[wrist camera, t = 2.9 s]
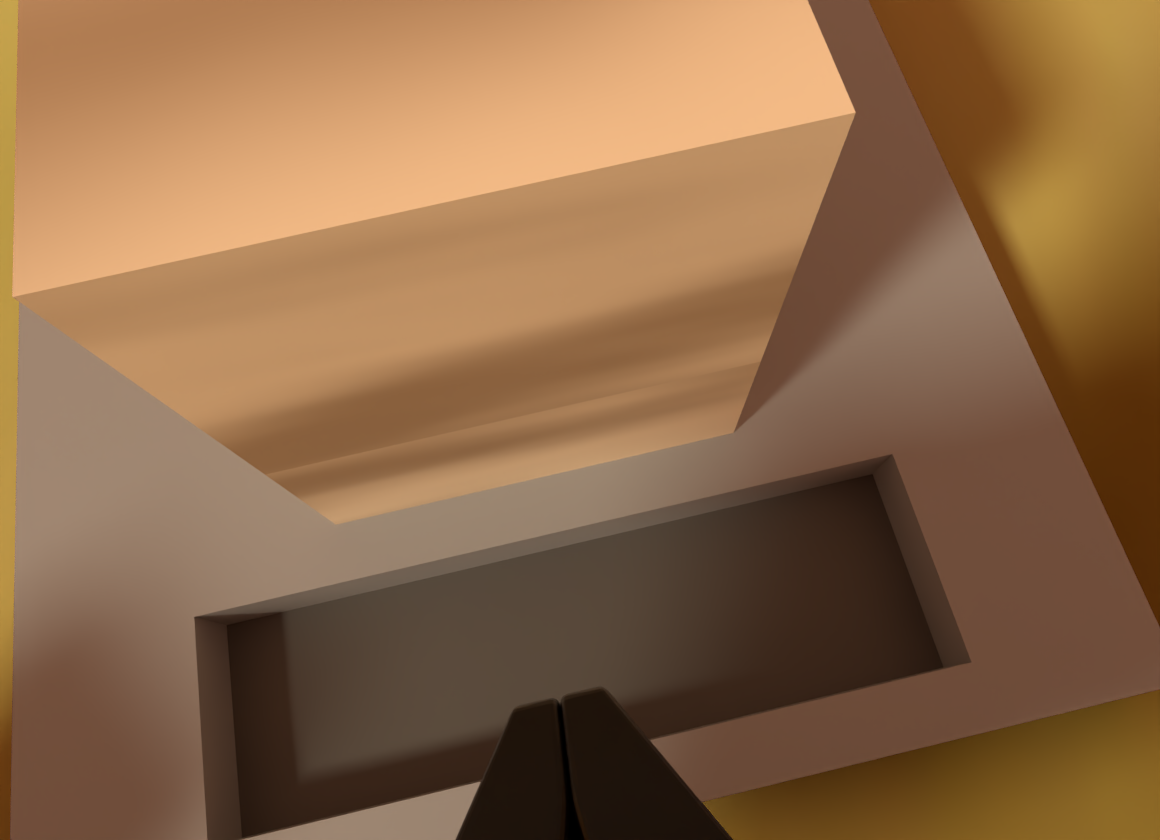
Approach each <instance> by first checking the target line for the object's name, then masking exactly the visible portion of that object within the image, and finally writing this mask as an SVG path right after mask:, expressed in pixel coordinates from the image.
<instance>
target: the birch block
mask: <svg viewBox="0 0 1160 840" xmlns="http://www.w3.org/2000/svg"><path fill="white" fill-rule="evenodd" d="M855 113H856V112H855V109H854V107H853V105H852V103H851V100H850V98H849V96H848V93H847V91H846V89H845V86H844V84H843V82H842V79H841V77H840V75H839V72H838V70H837V68H836V65H835V63H834V61H833V58H832V56H831V54H830V51H829V49H828V47H827V44H826V42H825V40H824V37H823V35H822V33H821V30H820V28H819V26H818V23H817V21H816V19H815V16H814V14H813V12H812V9H811V7H810V5H809V2H808V0H19V3H18V51H17V100H16V149H15V198H14V247H13V295H12V297H13V298H15V299H16V300H17V301H19V302H20V303H22V304H23V305H25V306H26V307H27V308H29V309H30V310H32V311H33V312H34V313H36V314H37V315H39V316H40V317H42V318H43V319H44V320H46V321H47V322H49V323H50V324H52V325H53V326H54V327H56V328H57V329H59V330H60V331H61V332H63V333H64V334H66V335H67V336H69V337H70V338H71V339H73V340H74V341H76V342H77V343H79V344H80V345H81V346H83V347H84V348H86V349H87V350H88V351H90V352H91V353H93V354H94V355H96V356H97V357H98V358H100V359H101V360H103V361H104V362H106V363H107V364H108V365H110V366H111V367H113V368H114V369H115V370H117V371H118V372H120V373H121V374H123V375H124V376H125V377H127V378H128V379H130V380H131V381H133V382H134V383H135V384H137V385H138V386H140V387H141V388H142V389H144V390H145V391H147V392H148V393H150V394H151V395H152V396H154V397H155V398H157V399H158V400H160V401H161V402H162V403H164V404H165V405H167V406H168V407H169V408H171V409H172V410H174V411H175V412H177V413H178V414H179V415H181V416H182V417H184V418H185V419H187V420H188V421H189V422H191V423H192V424H194V425H195V426H196V427H198V428H199V429H201V430H202V431H204V432H205V433H206V434H208V435H209V436H211V437H212V438H213V439H215V440H216V441H218V442H219V443H221V444H222V445H223V446H225V447H226V448H228V449H229V450H231V451H232V452H233V453H235V454H236V455H238V456H239V457H240V458H242V459H243V460H245V461H246V462H248V463H249V464H250V465H252V466H253V467H255V468H256V469H258V470H259V471H260V472H262V473H263V474H265V475H266V476H267V477H269V478H270V479H272V480H273V481H275V482H276V483H277V484H279V485H280V486H282V487H283V488H285V489H286V490H287V491H289V492H290V493H292V494H293V495H294V496H296V497H297V498H299V499H300V500H302V501H303V502H304V503H306V504H307V505H309V506H310V507H312V508H313V509H314V510H316V511H317V512H319V513H320V514H321V515H323V516H324V517H326V518H327V519H329V520H330V521H331V522H333V523H334V524H336V525H337V524H341V523H345V522H350V521H354V520H358V519H363V518H367V517H371V516H376V515H380V514H384V513H389V512H393V511H397V510H402V509H406V508H410V507H415V506H419V505H423V504H428V503H432V502H436V501H441V500H445V499H449V498H454V497H458V496H462V495H467V494H471V493H475V492H480V491H484V490H488V489H493V488H497V487H501V486H506V485H510V484H514V483H519V482H523V481H527V480H532V479H536V478H540V477H545V476H549V475H553V474H558V473H562V472H566V471H571V470H575V469H579V468H584V467H588V466H592V465H597V464H601V463H605V462H610V461H614V460H618V459H623V458H627V457H631V456H636V455H640V454H644V453H649V452H653V451H657V450H662V449H666V448H670V447H675V446H679V445H683V444H687V443H692V442H696V441H700V440H705V439H709V438H713V437H718V436H722V435H726V434H731V433H734V430H735V428H736V425H737V422H738V420H739V417H740V415H741V412H742V409H743V407H744V404H745V402H746V399H747V396H748V394H749V391H750V388H751V386H752V383H753V381H754V378H755V375H756V373H757V370H758V367H759V365H760V362H761V360H762V357H763V354H764V352H765V349H766V346H767V344H768V341H769V339H770V336H771V333H772V331H773V328H774V326H775V323H776V320H777V318H778V315H779V312H780V310H781V307H782V305H783V302H784V299H785V297H786V294H787V291H788V289H789V286H790V284H791V281H792V278H793V276H794V273H795V270H796V268H797V265H798V263H799V260H800V257H801V255H802V252H803V250H804V247H805V244H806V242H807V239H808V236H809V234H810V231H811V229H812V226H813V223H814V221H815V218H816V215H817V213H818V210H819V208H820V205H821V202H822V200H823V197H824V195H825V192H826V189H827V187H828V184H829V181H830V179H831V176H832V174H833V171H834V168H835V166H836V163H837V160H838V158H839V155H840V153H841V150H842V147H843V145H844V142H845V139H846V137H847V134H848V132H849V129H850V126H851V124H852V121H853V119H854V116H855Z"/></svg>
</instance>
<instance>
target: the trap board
mask: <svg viewBox="0 0 1160 840" xmlns="http://www.w3.org/2000/svg"><path fill="white" fill-rule="evenodd" d="M808 2H809V5H810V7H811V9H812V12H813V14H814V16H815V19H816V21H817V23H818V26H819V28H820V30H821V33H822V35H823V37H824V40H825V42H826V44H827V47H828V49H829V51H830V54H831V56H832V58H833V61H834V63H835V65H836V68H837V70H838V72H839V75H840V77H841V79H842V82H843V84H844V86H845V89H846V91H847V93H848V96H849V98H850V100H851V103H852V105H853V107H854V109H855V112H856V113H855V116H854V119H853V121H852V124H851V126H850V129H849V132H848V134H847V137H846V139H845V142H844V145H843V147H842V150H841V153H840V155H839V158H838V160H837V163H836V166H835V168H834V171H833V174H832V176H831V179H830V181H829V184H828V187H827V189H826V192H825V195H824V197H823V200H822V202H821V205H820V208H819V210H818V213H817V215H816V218H815V221H814V223H813V226H812V229H811V231H810V234H809V236H808V239H807V242H806V244H805V247H804V250H803V252H802V255H801V257H800V260H799V263H798V265H797V268H796V270H795V273H794V276H793V278H792V281H791V284H790V286H789V289H788V291H787V294H786V297H785V299H784V302H783V305H782V307H781V310H780V312H779V315H778V318H777V320H776V323H775V326H774V328H773V331H772V333H771V336H770V339H769V341H768V344H767V346H766V349H765V352H764V354H763V357H762V360H761V362H760V365H759V367H758V370H757V373H756V375H755V378H754V381H753V383H752V386H751V388H750V391H749V394H748V396H747V399H746V402H745V404H744V407H743V409H742V412H741V415H740V417H739V420H738V422H737V425H736V428H735V430H734V433H731V434H726V435H722V436H718V437H713V438H709V439H705V440H700V441H696V442H692V443H687V444H683V445H679V446H675V447H670V448H666V449H662V450H657V451H653V452H649V453H644V454H640V455H636V456H631V457H627V458H623V459H618V460H614V461H610V462H605V463H601V464H597V465H592V466H588V467H584V468H579V469H575V470H571V471H566V472H562V473H558V474H553V475H549V476H545V477H540V478H536V479H532V480H527V481H523V482H519V483H514V484H510V485H506V486H501V487H497V488H493V489H488V490H484V491H480V492H475V493H471V494H467V495H462V496H458V497H454V498H449V499H445V500H441V501H436V502H432V503H428V504H423V505H419V506H415V507H410V508H406V509H402V510H397V511H393V512H389V513H384V514H380V515H376V516H371V517H367V518H363V519H358V520H354V521H350V522H345V523H341V524H337V525H336V524H334V523H333V522H331V521H330V520H329V519H327V518H326V517H324V516H323V515H321V514H320V513H319V512H317V511H316V510H314V509H313V508H312V507H310V506H309V505H307V504H306V503H304V502H303V501H302V500H300V499H299V498H297V497H296V496H294V495H293V494H292V493H290V492H289V491H287V490H286V489H285V488H283V487H282V486H280V485H279V484H277V483H276V482H275V481H273V480H272V479H270V478H269V477H267V476H266V475H265V474H263V473H262V472H260V471H259V470H258V469H256V468H255V467H253V466H252V465H250V464H249V463H248V462H246V461H245V460H243V459H242V458H240V457H239V456H238V455H236V454H235V453H233V452H232V451H231V450H229V449H228V448H226V447H225V446H223V445H222V444H221V443H219V442H218V441H216V440H215V439H213V438H212V437H211V436H209V435H208V434H206V433H205V432H204V431H202V430H201V429H199V428H198V427H196V426H195V425H194V424H192V423H191V422H189V421H188V420H187V419H185V418H184V417H182V416H181V415H179V414H178V413H177V412H175V411H174V410H172V409H171V408H169V407H168V406H167V405H165V404H164V403H162V402H161V401H160V400H158V399H157V398H155V397H154V396H152V395H151V394H150V393H148V392H147V391H145V390H144V389H142V388H141V387H140V386H138V385H137V384H135V383H134V382H133V381H131V380H130V379H128V378H127V377H125V376H124V375H123V374H121V373H120V372H118V371H117V370H115V369H114V368H113V367H111V366H110V365H108V364H107V363H106V362H104V361H103V360H101V359H100V358H98V357H97V356H96V355H94V354H93V353H91V352H90V351H88V350H87V349H86V348H84V347H83V346H81V345H80V344H79V343H77V342H76V341H74V340H73V339H71V338H70V337H69V336H67V335H66V334H64V333H63V332H61V331H60V330H59V329H57V328H56V327H54V326H53V325H52V324H50V323H49V322H47V321H46V320H44V319H43V318H42V317H40V316H39V315H37V314H36V313H34V312H33V311H32V310H30V309H29V308H27V307H26V306H25V305H23V304H22V303H20V302H19V349H18V407H17V466H16V524H15V582H14V641H13V699H12V758H11V816H10V840H456V837H457V835H458V833H459V830H460V828H461V826H462V823H463V821H464V819H465V817H466V814H467V812H468V810H469V807H470V805H471V803H472V801H473V798H474V796H475V794H476V791H477V789H478V787H479V784H480V782H481V780H482V778H483V775H484V773H485V771H486V768H487V766H488V764H489V762H490V759H491V757H492V755H493V752H494V750H495V748H496V745H497V743H498V741H499V739H500V736H501V734H502V732H503V729H504V727H505V725H506V723H507V720H508V718H509V716H510V714H511V712H512V710H513V709H514V708H515V707H517V706H519V705H522V704H527V703H531V702H535V701H539V700H543V699H547V698H555V699H557V700H558V701H559V703H560V702H561V699H562V697H563V696H564V695H566V694H568V693H572V692H577V691H581V690H585V689H589V688H593V687H598V686H600V687H604V688H605V689H607V690H608V691H609V692H610V693H611V695H612V696H613V697H614V698H615V699H616V701H617V702H618V703H619V704H620V705H621V706H622V708H623V709H624V710H625V711H626V712H627V714H628V715H629V716H630V717H631V718H632V720H633V721H634V722H635V723H636V724H637V726H638V727H639V728H640V729H641V730H642V732H643V733H644V734H645V735H646V736H647V738H648V739H649V740H650V741H651V742H652V744H653V745H654V746H655V747H656V748H657V749H658V751H659V752H660V753H661V754H662V755H663V757H664V758H665V759H666V760H667V761H668V763H669V764H670V765H671V766H672V767H673V769H674V770H675V771H676V772H677V773H678V775H679V776H680V777H681V778H682V779H683V781H684V782H685V783H686V784H687V785H688V787H689V788H690V789H691V790H692V791H693V792H694V794H695V795H696V796H697V797H698V798H699V800H700V801H701V802H704V801H708V800H712V799H716V798H720V797H724V796H728V795H732V794H736V793H740V792H745V791H749V790H753V789H757V788H761V787H765V786H769V785H773V784H777V783H781V782H785V781H789V780H793V779H797V778H801V777H806V776H810V775H814V774H818V773H822V772H826V771H830V770H834V769H838V768H842V767H846V766H850V765H854V764H858V763H862V762H867V761H871V760H875V759H879V758H883V757H887V756H891V755H895V754H899V753H903V752H907V751H911V750H915V749H919V748H923V747H928V746H932V745H936V744H940V743H944V742H948V741H952V740H956V739H960V738H964V737H968V736H972V735H976V734H980V733H984V732H988V731H993V730H997V729H1001V728H1005V727H1009V726H1013V725H1017V724H1021V723H1025V722H1029V721H1033V720H1037V719H1041V718H1045V717H1049V716H1054V715H1058V714H1062V713H1066V712H1070V711H1074V710H1078V709H1082V708H1086V707H1090V706H1094V705H1098V704H1102V703H1106V702H1110V701H1115V700H1119V699H1123V698H1127V697H1131V696H1135V695H1139V694H1143V693H1147V692H1151V691H1155V690H1159V689H1160V627H1159V624H1158V622H1157V620H1156V618H1155V616H1154V614H1153V611H1152V609H1151V607H1150V605H1149V603H1148V601H1147V599H1146V596H1145V594H1144V592H1143V590H1142V588H1141V586H1140V584H1139V581H1138V579H1137V577H1136V575H1135V573H1134V571H1133V568H1132V566H1131V564H1130V562H1129V560H1128V558H1127V556H1126V553H1125V551H1124V549H1123V547H1122V545H1121V543H1120V540H1119V538H1118V536H1117V534H1116V532H1115V530H1114V528H1113V525H1112V523H1111V521H1110V519H1109V517H1108V515H1107V512H1106V510H1105V508H1104V506H1103V504H1102V502H1101V500H1100V497H1099V495H1098V493H1097V491H1096V489H1095V487H1094V485H1093V482H1092V480H1091V478H1090V476H1089V474H1088V472H1087V469H1086V467H1085V465H1084V463H1083V461H1082V459H1081V457H1080V454H1079V452H1078V450H1077V448H1076V446H1075V444H1074V441H1073V439H1072V437H1071V435H1070V433H1069V431H1068V429H1067V426H1066V424H1065V422H1064V420H1063V418H1062V416H1061V413H1060V411H1059V409H1058V407H1057V405H1056V403H1055V401H1054V398H1053V396H1052V394H1051V392H1050V390H1049V388H1048V386H1047V383H1046V381H1045V379H1044V377H1043V375H1042V373H1041V370H1040V368H1039V366H1038V364H1037V362H1036V360H1035V358H1034V355H1033V353H1032V351H1031V349H1030V347H1029V345H1028V342H1027V340H1026V338H1025V336H1024V334H1023V332H1022V330H1021V327H1020V325H1019V323H1018V321H1017V319H1016V317H1015V314H1014V312H1013V310H1012V308H1011V306H1010V304H1009V302H1008V299H1007V297H1006V295H1005V293H1004V291H1003V289H1002V287H1001V284H1000V282H999V280H998V278H997V276H996V274H995V271H994V269H993V267H992V265H991V263H990V261H989V259H988V256H987V254H986V252H985V250H984V248H983V246H982V243H981V241H980V239H979V237H978V235H977V233H976V231H975V228H974V226H973V224H972V222H971V220H970V218H969V216H968V213H967V211H966V209H965V207H964V205H963V203H962V200H961V198H960V196H959V194H958V192H957V190H956V188H955V185H954V183H953V181H952V179H951V177H950V175H949V172H948V170H947V168H946V166H945V164H944V162H943V160H942V157H941V155H940V153H939V151H938V149H937V147H936V144H935V142H934V140H933V138H932V136H931V134H930V132H929V129H928V127H927V125H926V123H925V121H924V119H923V117H922V114H921V112H920V110H919V108H918V106H917V104H916V101H915V99H914V97H913V95H912V93H911V91H910V89H909V86H908V84H907V82H906V80H905V78H904V76H903V73H902V71H901V69H900V67H899V65H898V63H897V61H896V58H895V56H894V54H893V52H892V50H891V48H890V45H889V43H888V41H887V39H886V37H885V35H884V33H883V30H882V28H881V26H880V24H879V22H878V20H877V18H876V15H875V13H874V11H873V9H872V7H871V5H870V2H869V0H808Z"/></svg>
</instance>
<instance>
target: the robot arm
mask: <svg viewBox="0 0 1160 840" xmlns="http://www.w3.org/2000/svg"><path fill="white" fill-rule="evenodd" d="M456 840H733V839H732V838H731V837H730V836H729V834H728V833H727V832H726V831H725V830H724V828H723V827H722V826H721V825H720V824H719V822H718V821H717V820H716V819H715V818H714V816H713V815H712V814H711V813H710V812H709V810H708V809H707V808H706V807H705V806H704V804H703V803H702V802H701V801H700V800H699V798H698V797H697V796H696V795H695V794H694V792H693V791H692V790H691V789H690V788H689V787H688V785H687V784H686V783H685V782H684V781H683V779H682V778H681V777H680V776H679V775H678V773H677V772H676V771H675V770H674V769H673V767H672V766H671V765H670V764H669V763H668V761H667V760H666V759H665V758H664V757H663V755H662V754H661V753H660V752H659V751H658V749H657V748H656V747H655V746H654V745H653V744H652V742H651V741H650V740H649V739H648V738H647V736H646V735H645V734H644V733H643V732H642V730H641V729H640V728H639V727H638V726H637V724H636V723H635V722H634V721H633V720H632V718H631V717H630V716H629V715H628V714H627V712H626V711H625V710H624V709H623V708H622V706H621V705H620V704H619V703H618V702H617V701H616V699H615V698H614V697H613V696H612V695H611V693H610V692H609V691H608V690H607V689H605V688H604V687H600V686H598V687H593V688H589V689H585V690H581V691H577V692H572V693H568V694H566V695H564V696H563V697H562V699H561V702H560V703H559V701H558V700H557V699H555V698H547V699H543V700H539V701H535V702H531V703H527V704H522V705H519V706H517V707H515V708H514V709H513V710H512V712H511V714H510V716H509V718H508V720H507V723H506V725H505V727H504V729H503V732H502V734H501V736H500V739H499V741H498V743H497V745H496V748H495V750H494V752H493V755H492V757H491V759H490V762H489V764H488V766H487V768H486V771H485V773H484V775H483V778H482V780H481V782H480V784H479V787H478V789H477V791H476V794H475V796H474V798H473V801H472V803H471V805H470V807H469V810H468V812H467V814H466V817H465V819H464V821H463V823H462V826H461V828H460V830H459V833H458V835H457V837H456Z"/></svg>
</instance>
